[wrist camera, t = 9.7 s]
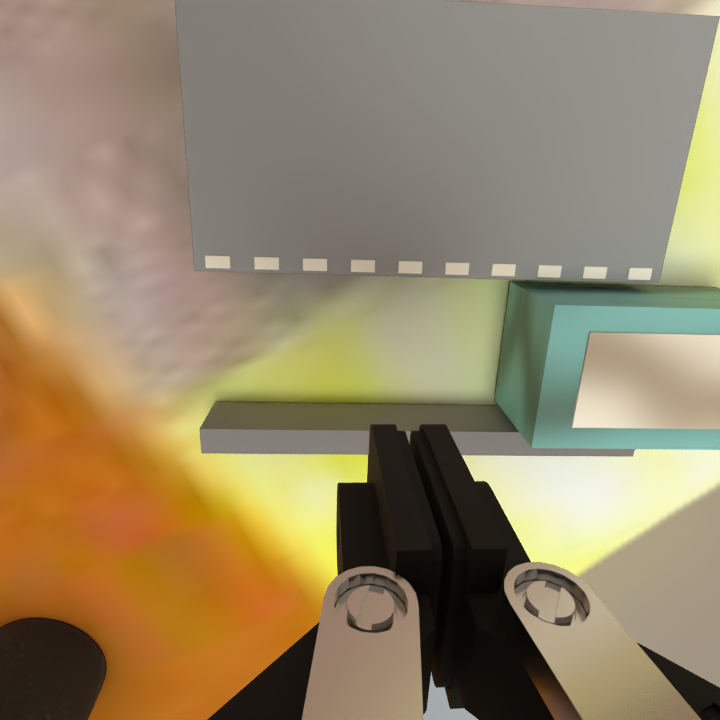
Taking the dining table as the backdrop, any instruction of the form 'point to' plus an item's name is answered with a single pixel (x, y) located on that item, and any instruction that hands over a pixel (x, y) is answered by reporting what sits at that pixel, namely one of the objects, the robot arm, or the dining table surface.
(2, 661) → the travel mug
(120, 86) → the dining table surface
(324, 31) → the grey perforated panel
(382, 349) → the dining table surface
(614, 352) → the teal rectangular box
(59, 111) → the dining table surface
